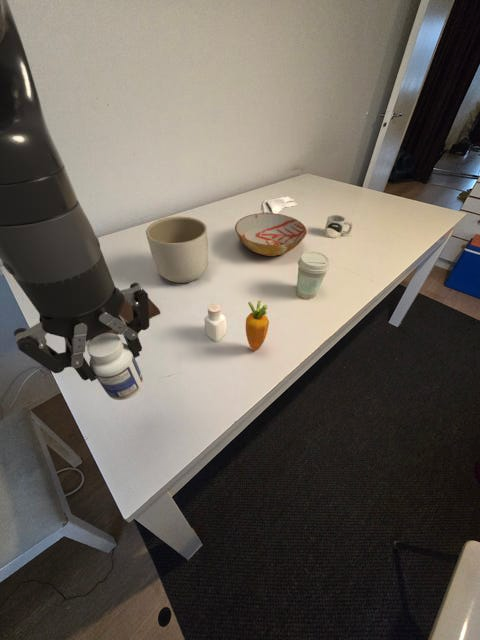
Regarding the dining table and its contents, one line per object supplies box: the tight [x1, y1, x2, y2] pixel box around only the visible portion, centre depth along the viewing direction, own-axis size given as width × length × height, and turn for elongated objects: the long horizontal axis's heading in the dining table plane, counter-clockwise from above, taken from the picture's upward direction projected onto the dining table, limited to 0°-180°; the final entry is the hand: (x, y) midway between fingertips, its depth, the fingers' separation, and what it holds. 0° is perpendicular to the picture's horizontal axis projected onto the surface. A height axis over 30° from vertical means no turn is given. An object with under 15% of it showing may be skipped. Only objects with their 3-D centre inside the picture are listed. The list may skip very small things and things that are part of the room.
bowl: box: [234, 212, 308, 257], centre depth 94 cm, size 25×25×8 cm
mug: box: [323, 214, 354, 239], centre depth 103 cm, size 10×7×7 cm, turn 76°
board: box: [89, 297, 161, 342], centre depth 69 cm, size 18×10×2 cm, turn 131°
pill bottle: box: [86, 333, 144, 401], centre depth 37 cm, size 5×5×10 cm
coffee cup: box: [296, 251, 330, 300], centre depth 75 cm, size 8×8×12 cm
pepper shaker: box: [203, 302, 227, 342], centre depth 63 cm, size 4×4×10 cm
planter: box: [145, 216, 209, 284], centre depth 80 cm, size 17×17×15 cm
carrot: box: [245, 300, 270, 352], centre depth 58 cm, size 5×5×15 cm
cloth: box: [262, 196, 298, 214], centre depth 125 cm, size 26×14×2 cm, turn 135°
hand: (114, 363), depth 36 cm, fingers closed on pill bottle, 5 cm apart
